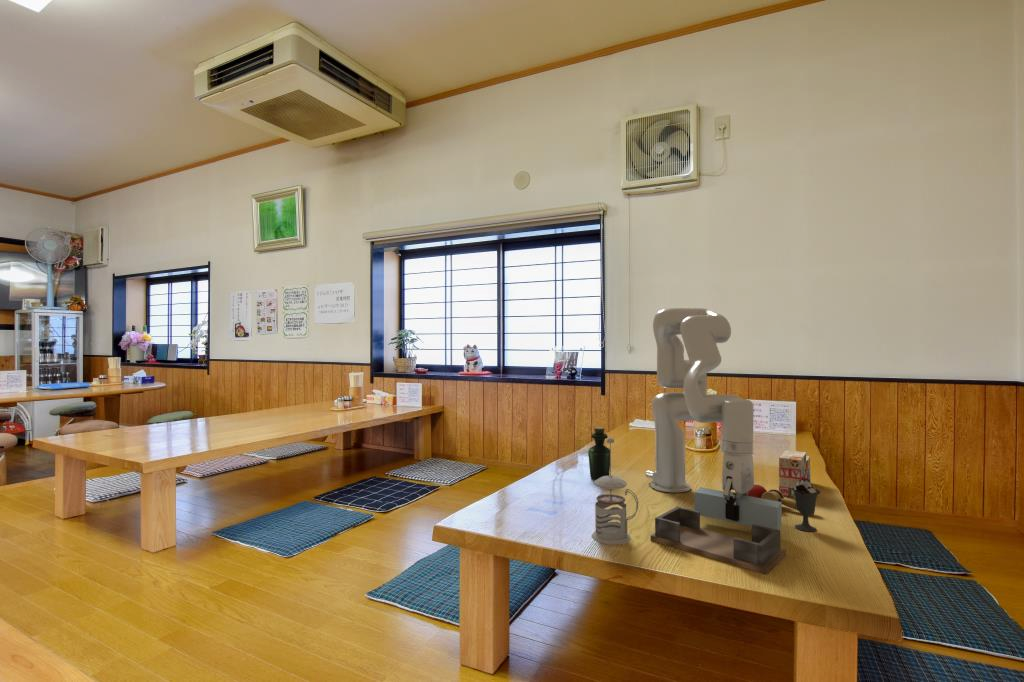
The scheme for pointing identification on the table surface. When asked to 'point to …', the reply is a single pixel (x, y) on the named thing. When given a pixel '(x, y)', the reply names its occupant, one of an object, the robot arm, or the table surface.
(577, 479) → the table surface
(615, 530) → the french press
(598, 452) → the potion bottle
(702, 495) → the grey rectangular block
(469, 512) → the table surface
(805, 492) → the sundae
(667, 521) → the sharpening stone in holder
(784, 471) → the stack of blocks
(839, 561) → the table surface
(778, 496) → the kendama
